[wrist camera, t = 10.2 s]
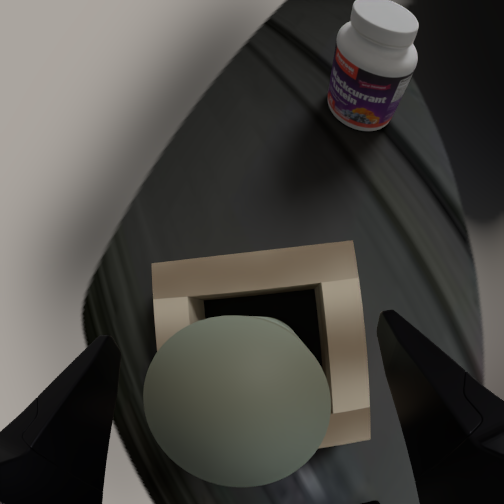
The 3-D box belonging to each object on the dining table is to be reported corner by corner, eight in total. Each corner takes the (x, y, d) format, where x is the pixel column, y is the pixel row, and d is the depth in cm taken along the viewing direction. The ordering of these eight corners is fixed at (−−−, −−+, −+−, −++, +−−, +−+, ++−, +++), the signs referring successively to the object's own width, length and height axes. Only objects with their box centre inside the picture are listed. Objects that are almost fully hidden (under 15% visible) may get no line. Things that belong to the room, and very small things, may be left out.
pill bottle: (314, 110, 22) (324, 10, 12) (345, 74, 22) (361, -17, 13) (375, 146, 21) (417, 53, 11) (400, 105, 21) (438, 19, 12)
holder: (356, 420, 17) (370, 439, 13) (188, 433, 18) (171, 452, 14) (340, 253, 19) (352, 240, 16) (172, 272, 20) (151, 263, 17)
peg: (302, 382, 18) (333, 479, 6) (232, 387, 18) (158, 482, 6) (296, 313, 19) (322, 305, 7) (226, 320, 19) (134, 320, 7)
